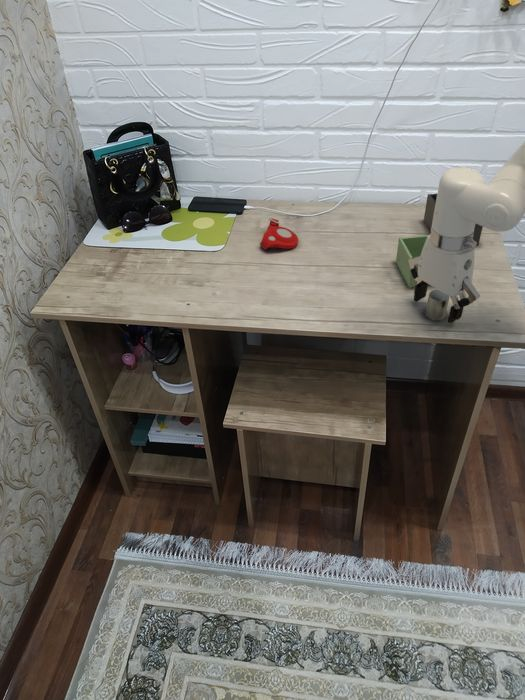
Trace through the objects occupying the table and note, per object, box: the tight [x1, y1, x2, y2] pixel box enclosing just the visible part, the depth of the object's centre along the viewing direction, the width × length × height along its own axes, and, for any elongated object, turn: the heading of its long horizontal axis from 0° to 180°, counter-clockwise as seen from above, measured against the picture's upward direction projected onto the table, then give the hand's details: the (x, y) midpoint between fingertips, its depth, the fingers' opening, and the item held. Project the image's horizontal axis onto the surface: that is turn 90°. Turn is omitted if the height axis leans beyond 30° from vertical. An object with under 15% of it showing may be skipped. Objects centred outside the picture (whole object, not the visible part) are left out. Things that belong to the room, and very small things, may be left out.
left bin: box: [395, 234, 431, 289], centre depth 128 cm, size 10×9×7 cm
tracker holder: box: [259, 218, 299, 250], centre depth 142 cm, size 12×4×10 cm
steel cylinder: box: [425, 289, 451, 322], centre depth 117 cm, size 4×4×5 cm
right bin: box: [423, 192, 484, 246], centre depth 139 cm, size 13×9×8 cm
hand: (436, 308), depth 118 cm, fingers open, 8 cm apart
